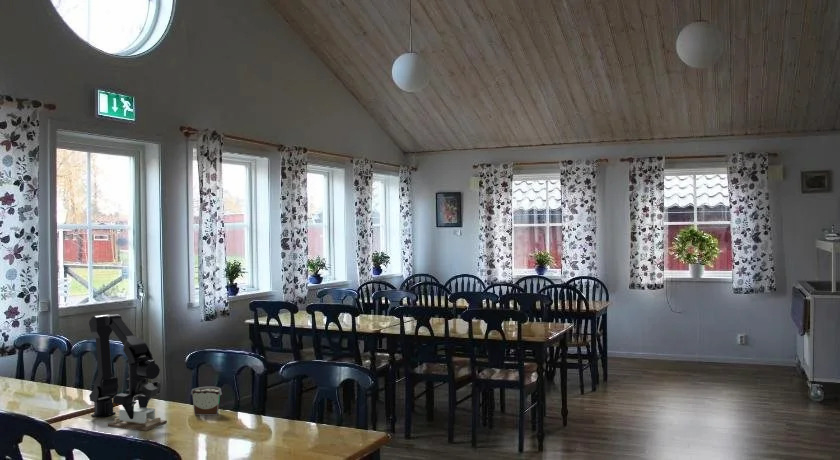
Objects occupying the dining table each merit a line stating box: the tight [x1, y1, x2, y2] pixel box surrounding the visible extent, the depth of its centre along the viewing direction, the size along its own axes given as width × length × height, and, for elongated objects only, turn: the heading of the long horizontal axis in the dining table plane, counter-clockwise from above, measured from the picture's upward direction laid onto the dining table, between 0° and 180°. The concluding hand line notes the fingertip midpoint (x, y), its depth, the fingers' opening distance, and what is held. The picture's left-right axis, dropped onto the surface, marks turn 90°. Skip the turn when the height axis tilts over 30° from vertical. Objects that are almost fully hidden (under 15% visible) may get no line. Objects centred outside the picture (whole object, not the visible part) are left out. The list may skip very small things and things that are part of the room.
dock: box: [107, 416, 168, 431], centre depth 259 cm, size 18×11×2 cm, turn 71°
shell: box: [118, 405, 156, 423], centre depth 259 cm, size 12×6×4 cm, turn 71°
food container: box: [190, 386, 223, 416], centre depth 275 cm, size 12×6×10 cm, turn 84°
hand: (137, 416), depth 259 cm, fingers closed on shell, 5 cm apart
